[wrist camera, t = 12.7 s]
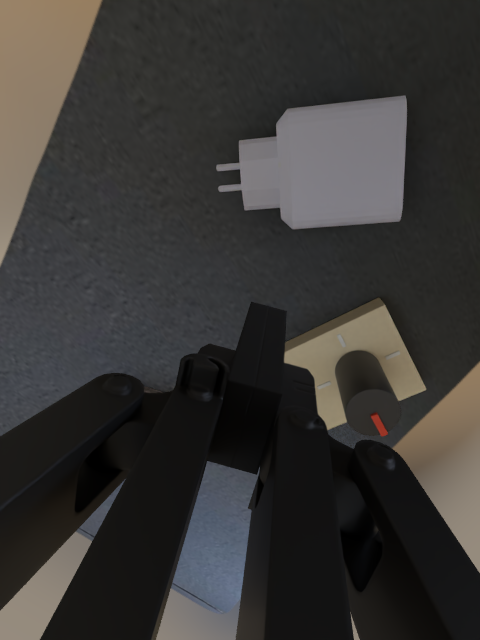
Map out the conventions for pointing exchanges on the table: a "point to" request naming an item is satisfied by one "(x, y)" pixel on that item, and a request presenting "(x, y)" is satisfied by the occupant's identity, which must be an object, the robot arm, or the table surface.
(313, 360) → the hob panel
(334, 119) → the charger
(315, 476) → the robot arm
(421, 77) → the table surface
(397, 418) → the hob knob
